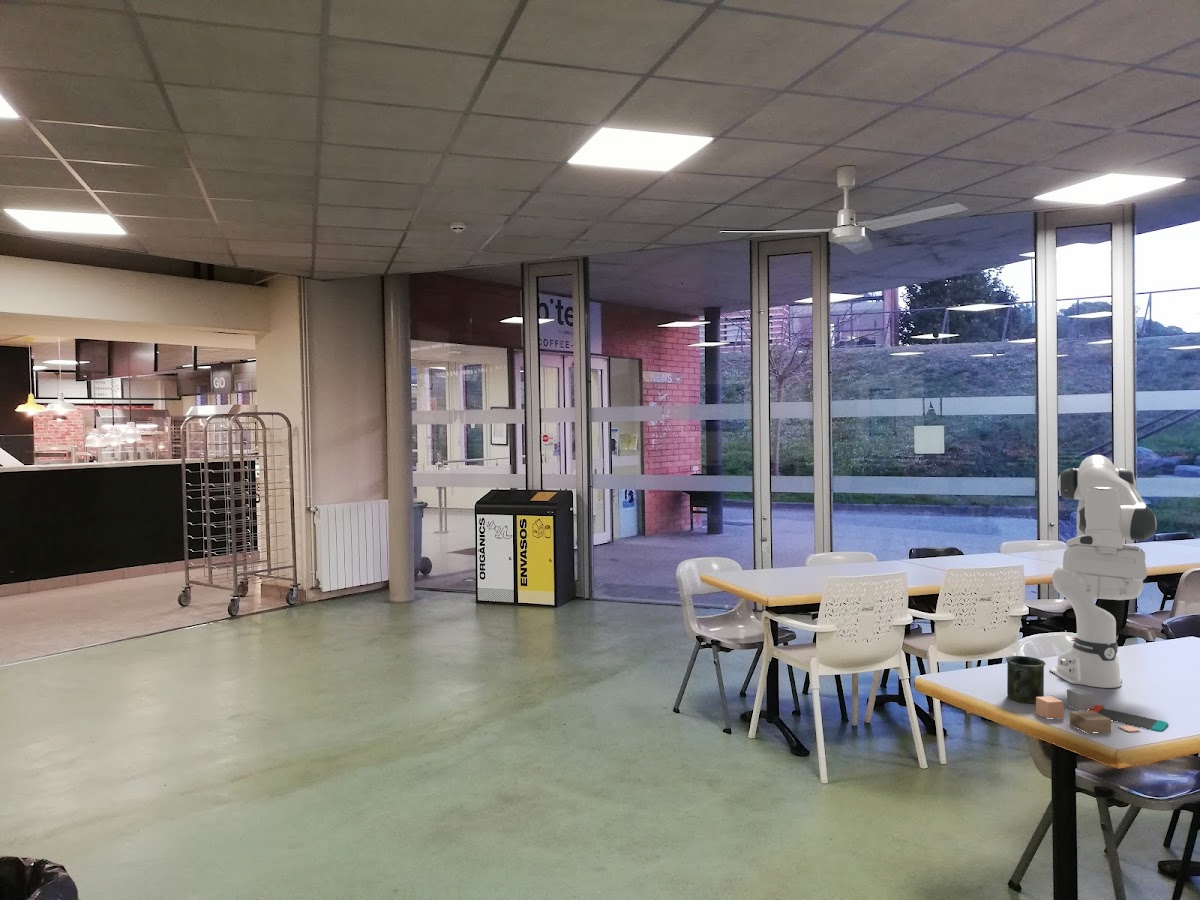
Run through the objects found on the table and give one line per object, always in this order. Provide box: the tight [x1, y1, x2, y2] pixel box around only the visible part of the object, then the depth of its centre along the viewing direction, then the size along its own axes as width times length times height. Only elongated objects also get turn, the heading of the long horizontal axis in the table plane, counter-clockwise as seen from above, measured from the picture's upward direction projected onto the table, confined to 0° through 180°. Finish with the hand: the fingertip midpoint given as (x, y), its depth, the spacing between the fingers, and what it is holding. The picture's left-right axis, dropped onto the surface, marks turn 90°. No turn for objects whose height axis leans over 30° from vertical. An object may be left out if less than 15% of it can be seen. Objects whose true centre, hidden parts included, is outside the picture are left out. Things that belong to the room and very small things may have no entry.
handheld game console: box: [1088, 704, 1169, 732], centre depth 232 cm, size 19×1×10 cm
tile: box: [1117, 725, 1141, 733], centre depth 223 cm, size 4×4×1 cm
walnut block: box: [1069, 710, 1112, 734], centre depth 224 cm, size 7×7×4 cm
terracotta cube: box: [1035, 695, 1064, 719], centre depth 235 cm, size 5×5×5 cm
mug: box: [1005, 655, 1046, 704], centre depth 249 cm, size 11×15×12 cm
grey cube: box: [1066, 688, 1095, 711], centre depth 242 cm, size 5×5×5 cm
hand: (1105, 593), depth 218 cm, fingers open, 8 cm apart
